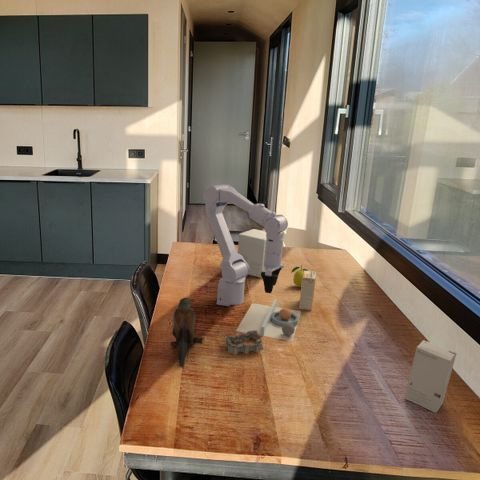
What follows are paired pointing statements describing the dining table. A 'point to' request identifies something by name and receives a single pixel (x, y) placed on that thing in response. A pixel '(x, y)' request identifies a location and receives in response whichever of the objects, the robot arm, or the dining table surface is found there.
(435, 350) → the skincare box
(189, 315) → the bird figurine
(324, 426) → the dining table surface
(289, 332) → the grey ball
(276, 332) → the board
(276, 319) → the dish
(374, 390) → the dining table surface
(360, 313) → the dining table surface
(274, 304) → the fence
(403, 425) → the dining table surface
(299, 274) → the lemon
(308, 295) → the supplement box
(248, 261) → the supplement box
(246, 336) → the egg carton
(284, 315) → the rust ball
